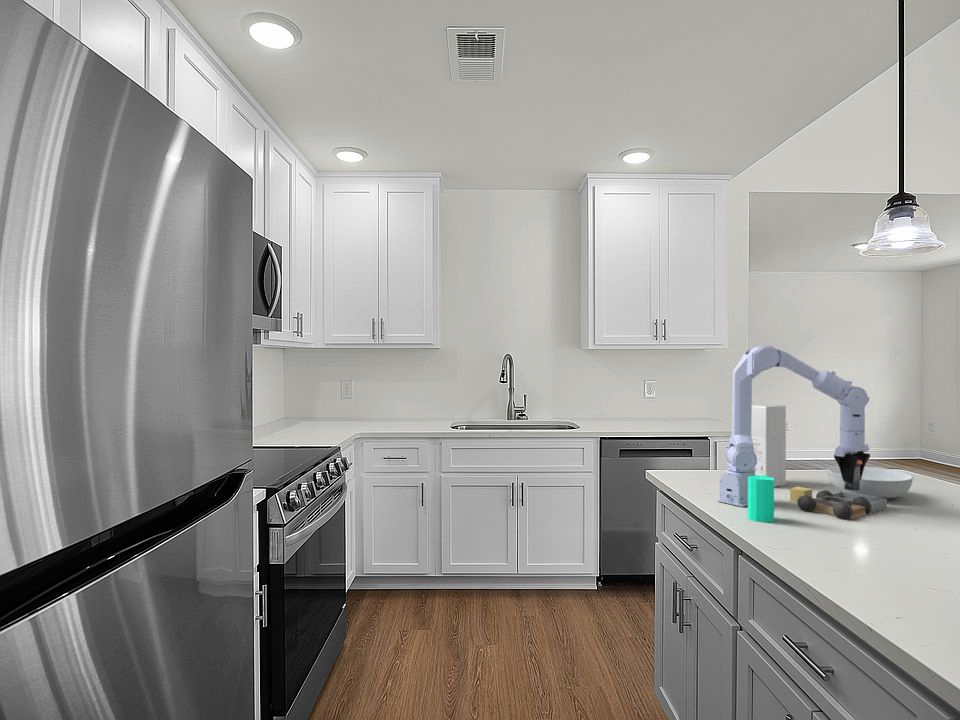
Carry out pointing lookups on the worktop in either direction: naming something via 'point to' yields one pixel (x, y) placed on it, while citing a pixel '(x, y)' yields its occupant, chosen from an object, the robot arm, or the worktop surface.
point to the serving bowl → (875, 482)
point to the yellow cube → (799, 493)
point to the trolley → (834, 505)
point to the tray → (875, 502)
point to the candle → (761, 498)
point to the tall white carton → (769, 441)
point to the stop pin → (854, 479)
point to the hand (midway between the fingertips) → (852, 480)
